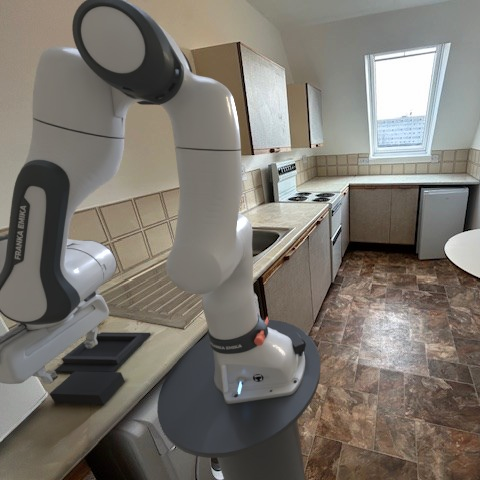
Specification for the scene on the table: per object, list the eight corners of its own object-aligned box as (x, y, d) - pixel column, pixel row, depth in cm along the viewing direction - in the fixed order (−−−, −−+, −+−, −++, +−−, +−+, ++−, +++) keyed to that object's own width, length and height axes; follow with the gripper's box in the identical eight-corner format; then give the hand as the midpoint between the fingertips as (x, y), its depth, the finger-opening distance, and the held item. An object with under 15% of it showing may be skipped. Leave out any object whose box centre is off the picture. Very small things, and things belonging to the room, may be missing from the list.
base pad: (150, 334, 79) (148, 328, 78) (112, 374, 66) (109, 367, 65) (101, 334, 80) (99, 328, 79) (55, 372, 67) (51, 365, 66)
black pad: (125, 381, 63) (120, 372, 62) (104, 405, 58) (99, 395, 57) (79, 380, 64) (74, 371, 63) (54, 403, 59) (49, 393, 58)
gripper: (-3, 348, 43) (34, 408, 48) (104, 283, 62) (122, 331, 67) (-37, 347, 43) (3, 406, 48) (79, 283, 62) (99, 330, 67)
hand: (73, 362), depth 58 cm, fingers open, 8 cm apart
